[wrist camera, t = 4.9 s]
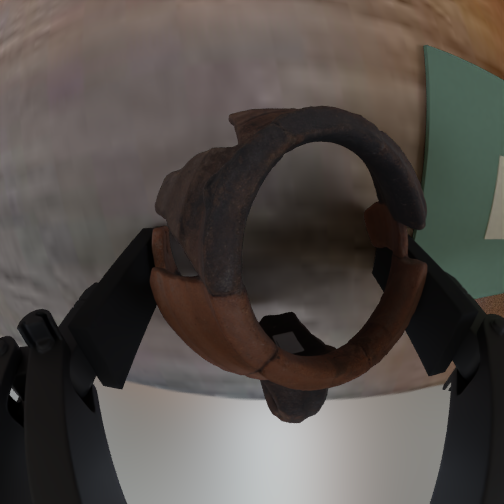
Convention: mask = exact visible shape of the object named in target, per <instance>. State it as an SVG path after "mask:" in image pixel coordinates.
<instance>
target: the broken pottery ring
mask: <svg viewBox="0 0 504 504" xmlns="http://www.w3.org/2000/svg"><path fill="white" fill-rule="evenodd" d="M229 122H230V123H231V124H232V125H233V126H234V128H235V131H236V134H237V139H238V145H236V146H234V147H226V148H222V147H221V148H211V149H210V150H208V151H205V152H202V153H199V154H197V155H196V156H194V157H193V158H192V159H190V160H189V161H188V163H187V164H186V165H185V166H184V167H183V168H182V169H180V170H177V171H174V172H171V173H170V174H168V175H167V176H166V177H165V179H164V181H163V183H162V186H161V188H160V191H159V193H158V196H157V199H156V203H155V210H156V212H157V213H158V214H159V215H161V216H162V217H163V218H164V219H166V221H167V225H168V227H167V226H161V227H159V228H158V227H156V228H154V229H153V233H152V254H153V258H154V265H155V267H153V268H152V271H151V276H150V286H151V289H152V292H153V295H154V298H155V301H156V304H157V306H158V308H159V309H160V311H161V313H162V315H163V317H164V319H165V320H166V321H167V323H168V324H169V325H170V327H171V328H172V329H173V330H174V331H175V332H176V333H177V335H178V336H179V337H180V338H181V339H182V340H183V341H184V342H185V343H186V344H187V345H188V346H189V347H190V348H191V349H192V350H194V351H195V352H196V353H197V354H198V355H200V356H201V357H202V358H204V359H205V360H207V361H208V362H210V363H212V364H213V365H215V366H218V367H219V368H221V369H223V370H225V371H228V372H232V373H236V374H239V375H246V376H247V377H249V378H254V379H259V380H260V381H261V385H262V389H263V392H264V396H265V399H266V401H267V404H268V407H269V409H270V411H271V412H272V414H273V415H275V416H277V417H278V418H279V419H280V420H281V421H284V422H289V423H300V422H302V421H303V420H304V419H306V418H308V417H310V416H313V415H315V414H316V413H317V412H318V411H319V410H320V408H321V407H322V405H323V404H324V402H325V400H326V397H327V392H328V388H331V387H334V386H338V385H341V384H344V383H346V382H349V381H351V380H353V379H355V378H357V377H359V376H361V375H362V374H364V373H366V372H367V371H368V370H369V369H370V368H371V367H373V366H374V365H376V364H377V363H379V362H380V361H381V359H382V358H383V357H384V356H385V355H387V354H388V352H389V351H390V350H391V349H392V347H393V346H394V345H395V343H396V342H397V341H398V340H399V339H400V337H401V336H402V334H403V333H404V331H405V329H406V328H407V326H408V325H409V322H410V320H411V317H412V315H413V314H414V313H415V310H416V307H417V305H418V303H419V300H420V297H421V294H422V291H423V288H424V284H425V280H426V275H427V264H426V263H425V262H422V261H420V260H417V259H411V258H409V257H408V234H407V227H406V226H408V227H410V228H413V229H416V230H422V229H424V228H425V226H426V216H427V204H426V201H425V198H424V193H423V191H422V188H421V185H420V182H419V180H418V178H417V176H416V174H415V171H414V169H413V167H412V165H411V163H410V162H409V161H408V159H407V157H406V156H405V154H404V153H403V152H402V150H401V149H400V147H399V146H398V145H397V144H396V143H395V142H394V141H393V140H392V139H391V138H390V137H389V136H388V135H387V134H386V133H384V132H383V131H379V130H378V128H377V127H376V126H375V125H374V124H373V123H371V122H369V121H368V120H366V119H365V118H363V117H362V116H361V115H358V114H354V113H351V112H348V111H345V110H342V109H339V108H336V107H328V106H317V107H312V106H311V107H305V108H302V109H294V108H291V109H251V110H247V111H242V112H238V113H234V114H230V115H229ZM319 141H322V142H332V143H336V144H339V145H342V146H344V147H346V148H348V149H349V150H351V151H352V152H354V153H355V154H356V155H358V156H359V157H360V158H361V159H362V160H363V162H364V163H365V164H366V166H367V168H368V170H369V172H370V173H371V176H372V179H373V182H374V186H375V189H376V193H377V197H378V200H379V201H378V202H376V203H374V204H373V205H372V206H371V207H369V208H368V209H367V210H366V211H365V212H364V221H365V224H366V229H367V232H368V234H369V238H370V241H371V243H372V244H373V246H375V247H378V248H383V247H388V248H389V249H390V250H392V251H393V254H392V262H391V268H390V273H389V277H388V280H387V284H386V287H385V290H384V293H383V295H382V297H381V300H380V302H379V304H378V305H377V307H376V309H375V310H374V312H373V313H372V315H371V316H370V318H369V319H368V321H367V322H366V324H365V325H364V326H363V327H362V329H361V330H360V331H359V332H358V333H357V334H356V335H355V336H354V337H353V338H352V339H350V340H349V341H348V343H347V344H345V345H343V346H341V347H340V348H338V349H336V348H335V347H332V346H329V345H325V344H324V342H322V341H321V340H320V339H318V338H317V337H316V336H314V335H313V334H311V333H310V332H309V330H308V329H307V328H306V327H305V326H304V325H303V324H302V323H301V322H300V321H299V319H298V318H297V316H296V314H295V313H293V312H288V313H283V314H280V315H268V316H264V317H263V318H262V319H261V321H260V322H258V321H257V319H256V317H255V315H254V313H253V310H252V307H251V304H250V302H249V298H248V294H247V292H246V289H245V286H244V284H243V283H242V246H243V237H244V230H245V225H246V221H247V217H248V214H249V211H250V208H251V206H252V203H253V201H254V199H255V197H256V195H257V192H258V190H259V188H260V186H261V185H262V183H263V181H264V179H265V178H266V176H267V175H268V173H269V172H270V171H271V169H272V168H273V167H274V166H275V165H276V164H277V162H278V161H279V160H280V159H281V158H282V157H283V155H284V154H285V153H287V152H289V151H291V150H293V149H294V148H296V147H298V146H301V145H303V144H306V143H310V142H319ZM169 230H170V231H171V233H172V235H173V237H174V238H175V239H176V240H177V242H178V243H179V244H180V245H181V246H182V248H183V250H184V252H185V254H186V255H187V257H188V259H189V260H190V261H191V263H192V265H193V267H194V269H195V271H196V272H197V273H198V275H199V276H193V277H185V276H182V275H181V274H180V272H179V271H178V269H177V266H176V264H175V261H174V259H173V255H172V252H171V247H170V238H169Z"/></svg>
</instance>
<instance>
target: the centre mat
mask: <svg viewBox="0 0 504 504" xmlns="http://www.w3.org/2000/svg"><path fill="white" fill-rule="evenodd" d="M424 56H425V69H426V94H427V115H426V140H425V154H424V165H423V175H422V183H421V188H422V191H423V193H424V198H425V201H426V204H427V216H426V226H425V228H424V229H422V230H416V229H414V232H413V237H412V239H413V240H414V241H415V242H416V243H417V244H418V245H419V246H420V247H421V248H422V249H423V250H424V251H425V252H426V253H427V254H428V255H429V256H430V257H431V258H432V259H433V260H434V261H435V262H436V263H437V264H438V265H439V266H440V267H441V268H442V269H443V270H444V272H447V273H449V274H450V275H452V276H453V277H455V278H456V279H457V280H458V281H459V283H460V284H461V285H462V287H464V288H465V289H466V290H467V292H468V294H470V295H471V296H472V297H473V299H477V298H482V297H487V296H492V295H497V294H501V293H504V80H502V79H500V78H499V77H497V76H495V75H493V74H491V73H490V72H488V71H486V70H484V69H482V68H480V67H478V66H476V65H474V64H472V63H470V62H468V61H466V60H463V59H461V58H459V57H457V56H454V55H452V54H449V53H447V52H444V51H442V50H439V49H437V48H434V47H431V46H428V45H424Z"/></svg>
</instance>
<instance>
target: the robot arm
mask: <svg viewBox="0 0 504 504" xmlns="http://www.w3.org/2000/svg"><path fill="white" fill-rule="evenodd" d="M153 229H154V228H143V229H142V230H141V231H140V233H139V234H138V235H137V236H136V237H135V238H134V240H133V241H132V242H131V243H130V244H129V245H128V247H127V248H126V249H125V250H124V251H123V253H122V254H121V255H120V256H119V258H118V259H117V260H116V261H115V263H114V264H113V265H112V266H111V268H110V269H109V270H108V271H107V273H106V274H105V275H104V277H103V278H102V279H101V280H100V282H99V283H94V284H93V285H92V286H90V287H89V288H88V289H86V290H85V291H84V293H83V294H82V295H81V297H80V298H79V300H78V301H77V302H76V303H75V305H74V308H73V307H72V309H71V310H70V311H69V313H68V314H67V316H66V317H65V318H64V320H63V321H62V323H61V324H60V326H59V327H58V326H57V324H56V323H55V321H54V319H53V317H52V315H51V313H50V312H49V311H48V310H45V309H39V310H35V311H33V312H30V313H29V314H28V315H26V316H25V317H24V318H23V319H22V320H21V321H20V322H19V325H18V327H17V329H18V330H19V332H20V334H21V335H22V337H23V339H24V340H25V342H26V344H27V345H28V346H26V347H19V346H18V344H17V343H16V341H15V340H14V339H13V338H12V337H10V336H5V337H2V338H0V504H127V502H126V500H125V498H124V495H123V492H122V489H121V486H120V484H119V480H118V477H117V474H116V471H115V468H114V465H113V461H112V458H111V454H110V451H109V447H108V443H107V439H106V435H105V430H104V426H103V421H102V417H101V412H100V406H99V400H98V394H97V390H96V388H95V386H94V385H93V382H94V379H95V377H96V376H97V377H98V379H99V380H100V381H101V383H102V384H103V386H107V387H112V388H117V389H122V388H123V386H124V383H125V381H126V378H127V375H128V373H129V370H130V368H131V365H132V363H133V360H134V358H135V355H136V353H137V350H138V348H139V345H140V343H141V340H142V338H143V336H144V333H145V331H146V329H147V326H148V324H149V321H150V319H151V317H152V315H153V312H154V310H155V308H156V306H157V304H156V301H155V298H154V295H153V292H152V289H151V286H150V276H151V271H152V268H153V267H155V265H154V258H153V254H152V233H153ZM392 254H393V251H392V250H390V249H389V248H388V247H383V248H378V247H377V251H376V256H375V261H374V266H373V271H372V274H373V276H374V277H375V279H376V280H377V282H378V284H379V285H380V287H381V289H382V290H383V292H384V290H385V287H386V284H387V280H388V277H389V273H390V268H391V262H392ZM408 257H409V258H411V259H417V260H420V261H422V262H425V263H426V264H427V275H426V280H425V284H424V288H423V291H422V294H421V297H420V300H419V303H418V305H417V307H416V310H415V313H414V314H413V315H412V317H411V320H410V322H409V325H408V326H407V328H406V329H405V331H406V332H407V334H408V336H409V338H410V340H411V342H412V344H413V346H414V348H415V350H416V352H417V353H418V355H419V357H420V359H421V361H422V364H423V366H424V368H425V370H426V372H427V374H428V376H432V375H436V374H439V373H443V372H445V371H446V369H447V368H448V366H449V365H450V363H451V362H452V360H453V362H454V364H455V365H456V368H455V369H454V371H453V372H452V374H451V375H450V377H449V378H448V380H447V381H446V382H445V384H444V386H443V390H445V389H446V388H447V386H448V385H449V384H450V382H451V387H450V388H449V391H451V396H450V408H449V417H448V425H447V432H446V438H445V444H444V450H443V455H442V460H441V464H440V469H439V473H438V477H437V481H436V485H435V488H434V492H433V495H432V499H431V501H430V504H504V318H502V317H501V316H499V315H496V314H488V315H487V314H486V313H485V312H484V311H483V309H482V308H481V307H480V306H479V305H478V303H477V302H476V301H475V300H474V299H473V297H472V296H471V295H470V294H468V292H467V290H466V289H465V288H464V287H462V285H461V284H460V283H459V281H458V280H457V279H456V278H455V277H453V276H452V275H450V274H449V273H447V272H444V270H443V269H442V268H441V267H440V266H439V265H438V264H437V263H436V262H435V261H434V260H433V259H432V258H431V257H430V256H429V255H428V254H427V253H426V252H425V251H424V250H423V249H422V248H421V247H420V246H419V245H418V244H417V243H416V242H415V241H414V240H413V239H412V238H411V237H410V236H409V235H408ZM11 388H12V389H13V390H14V391H15V393H16V394H17V395H18V396H19V398H18V400H17V402H16V401H15V400H13V398H12V397H11V396H10V395H9V394H10V390H11Z"/></svg>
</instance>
